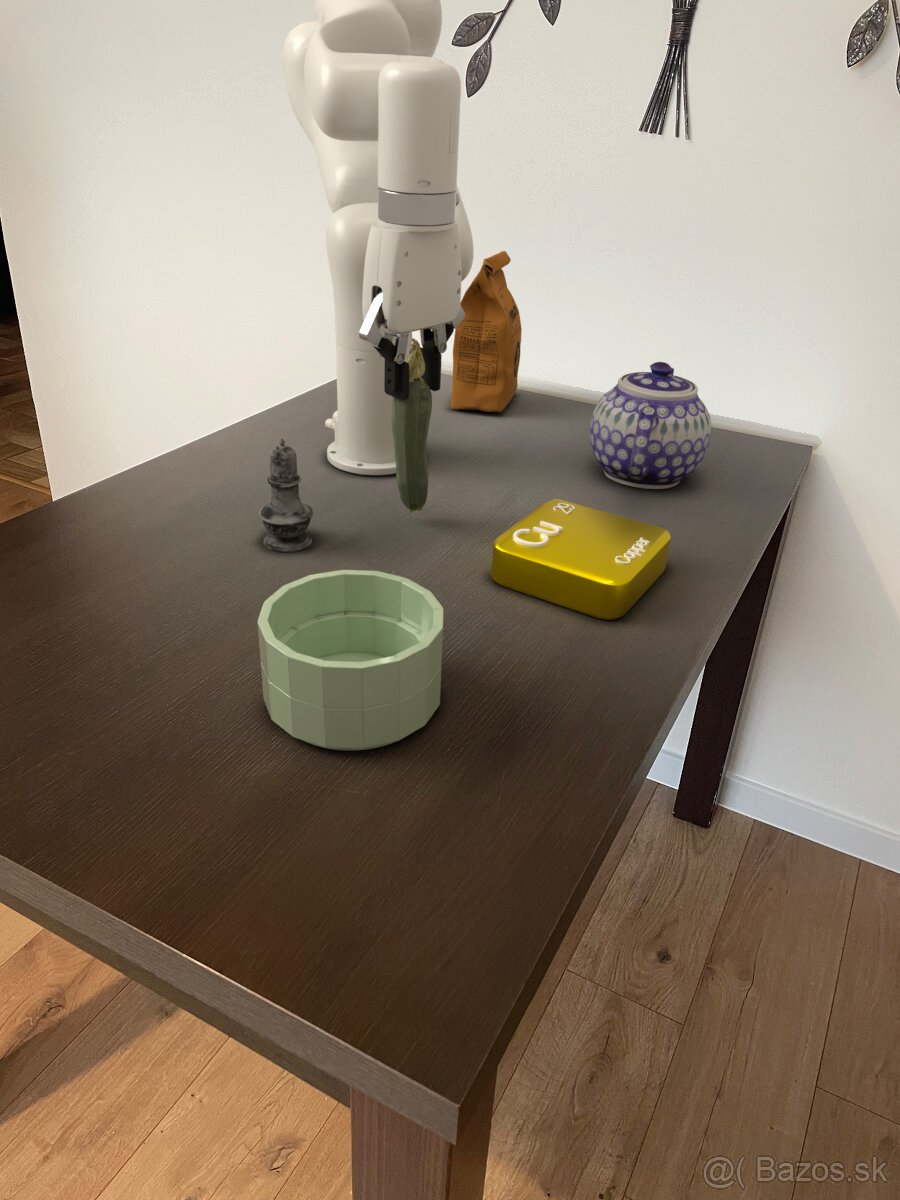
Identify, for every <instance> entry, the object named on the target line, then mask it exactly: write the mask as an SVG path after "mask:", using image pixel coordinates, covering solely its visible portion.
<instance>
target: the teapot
mask: <svg viewBox="0 0 900 1200" xmlns="http://www.w3.org/2000/svg"><path fill="white" fill-rule="evenodd" d="M649 368H650V371H638V372H637V371H636V372H630V373H626V374H624V375H621V377H619V378H618V380H617V383H616V385H615V386H613V387H612V388H611V389H610V390H609V391H607V392H605V393H604V394H603V395H601V396H600V398H599V399H598V402H597V404H596V406H595V408H594V409H593V413H592V414H591V415H592V416H591V419H590V424H589V443H590V448H591V451H592V455H593V457H594V458H595V460H596V461H597V462H598V464H599V465H600V467H601V468H602V469H603V473H604V475H605V476H606V477H607V478H608V479H609V480H612V481H614V482H616V483H618V484H622V485H626V486H629V487H633V488H639V489H647V490H650V489H651V490H664V489H670V488H673V487H675V486H677V485H678V484H679V483H680V482H681V480H683V479H685V478H686V477H688V476H689V475H690V474H692V473H693V472H695V471H696V470H697V468H698V467H699V465H700V464H701V463H702V461H703V460H704V458H705V457H706V454H707V451H708V449H709V446H710V440H711V433H712V420H711V415H710V413H709V410H708V408H707V406H706V405H705V403H704V401H702V399H701V398H700V397H699V395H698V391H699V388H698V386H697V384H696V383H694V382H693V381H691V380H689V379H687V378H684V377H682V376H678V375H674V374H675V368H674V367H672V366H671V365H670V364H669V363H667V362H664V361H656V362H653V363H652V364H650V365H649Z"/></svg>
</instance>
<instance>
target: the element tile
mask: <svg viewBox="0 0 900 1200" xmlns="http://www.w3.org/2000/svg"><path fill="white" fill-rule="evenodd" d="M671 539H672V537H671V534H670V532H669V531H668V530H667V529H665V528H663V527H660V526H656V525H653V524H649V523H646V522H643V521H638V520H635V519H632V518H628V517H624V516H621V515H618V514H614V513H611V512H607V511H604V510H600V509H596V508H593V507H590V506H587V505H582V504H580V503H576V502H571V501H569V500H564V499H560V498H553V499H550V500H547V501H544V502H543V503H542V504H541V505H539V506H538V507H536V508H535V509H534V510H532V511H531V512H530V513H528V514H527V515H526V516H524V517H523V518H522V519H520V520H519V521H518V522H517V523H515V524H514V525H513V526H511V527H510V528H508V529H507V530H506V531H504V532H503V533H502V534H500V535H499V536H498V537H496V538H495V540H494V541H493V545H492V558H491V571H490V572H491V573H490V576H491V578H492V581H494V582H495V583H496V584H498V585H499V586H502V587H505V588H508V589H510V590H513V591H517V592H519V593H523V594H525V595H528V596H531V597H534V598H537V599H540V600H542V601H546V602H548V603H551V604H554V605H557V606H560V607H563V608H566V609H570V610H572V611H575V612H578V613H581V614H584V615H587V616H590V617H593V618H596V619H601V620H608V621H612V620H617V619H621V618H622V617H623V616H625V615H626V614H627V613H628V612H629V610H630V609H631V608H632V607H633V606H634V605H635V604H636V603H637V602H638V601H639V600H640V599H641V597H642V596H643V595H644V594H645V593H646V592H647V590H648V589H650V587H651V586H652V585H653V584H654V583H655V582H656V581H657V579H658V578H659V577H661V576H662V574H663V573H664V572H665V570H666V568H667V562H668V556H669V551H670V544H671V541H672V540H671Z"/></svg>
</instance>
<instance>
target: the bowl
mask: <svg viewBox="0 0 900 1200" xmlns="http://www.w3.org/2000/svg"><path fill="white" fill-rule="evenodd" d="M256 624H257V636H258V647H259V659H260V672H261V683H262V696H263V701H264V704H265V707H266V709H267V712H268V715H269V717H270V720H271V721H273V722H274V723H275V724H276V725H278V727H280V728H281V729H283V731H284V732H286V733H288V735H290V736H291V737H293V738H294V739H297V740H301V741H302V742H305V743H307V744H310V745H312V746H316V747H319V748H323V749H328V750H334V751H348V752H349V751H365V750H373V749H377V748H381V747H385V746H388V745H391V744H394V743H396V742H399V741H401V740H403V739H404V738H406V737H408V736H410V735H411V734H413V733H414V732H416V731H418V730H419V729H421V728H423V727H425V726H426V725H427V723H428V722H429V720H430V719H431V718H432V717H433V715H434V714H435V712H436V711H437V709H438V708H439V706H440V705H441V685H442V664H443V663H442V662H443V661H442V660H443V638H444V607H443V606H442V605H441V603H440V602H439V600H438V599H437V598H436V597H435V595H434V594H433V592H432V591H431V590H429V589H427V588H425V587H424V586H422V585H420V584H418V583H417V582H415V581H413V580H411V579H409V578H407V577H404V576H400V575H396V574H391V573H387V572H383V571H380V570H363V569H362V570H361V569H339V570H338V569H337V570H332V571H327V572H320V573H313V574H308V575H306V576H304V577H301V578H298V579H296V580H294V581H291V582H288V583H286V584H284V585H282V586H281V587H279V588H278V589H277V590H276V591H275V592H274V593H273V594H271V595H270V596H269V597H268V598H266V599H265V600H264V601H263V604H262V607H261V609H260V613H259V616H258V619H257V623H256Z"/></svg>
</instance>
